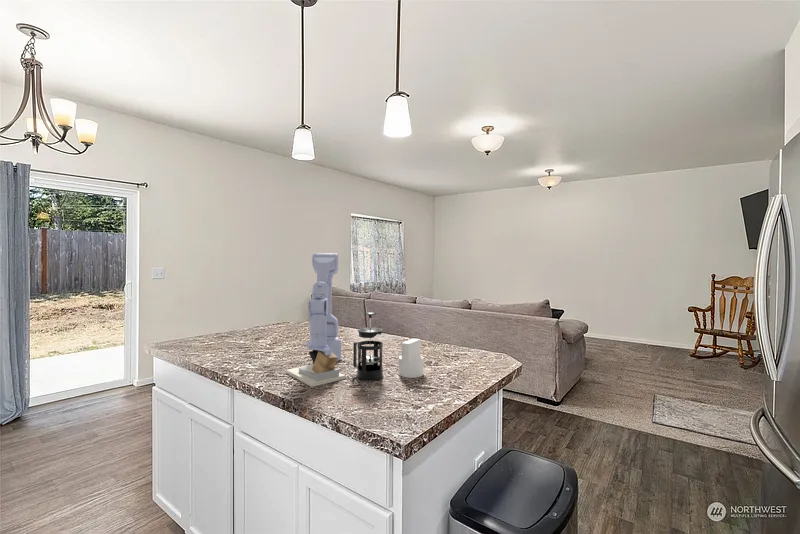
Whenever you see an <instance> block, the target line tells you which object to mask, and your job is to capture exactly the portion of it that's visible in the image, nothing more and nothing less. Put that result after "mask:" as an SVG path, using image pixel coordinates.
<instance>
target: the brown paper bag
mask: <svg viewBox="0 0 800 534" xmlns="http://www.w3.org/2000/svg"><path fill="white" fill-rule="evenodd" d="M337 359H338V357H337V356H336V355H335V354H333V353H332V354H331V355H327V356H326V355H325V354H324V353H323V352H322V351H318V353H317V356H316V359H315V362H314V365H313V364H312V365H313V368H312V370H313V371H314V372H315V373H321V372H325V371H329V370H334V369H335V367H336V364H337V362H338V361H337Z"/></svg>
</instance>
